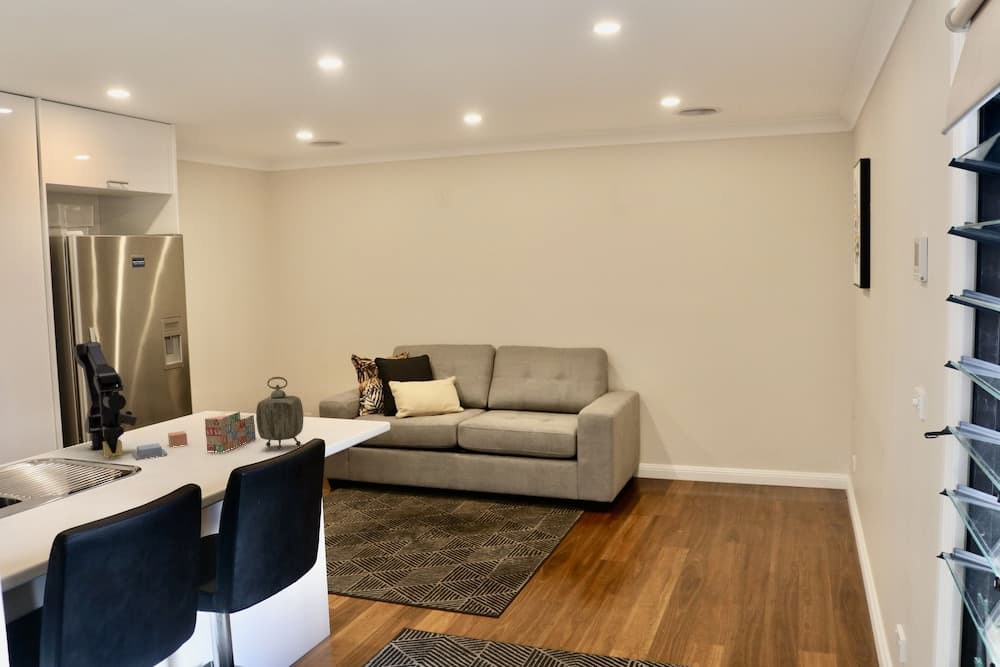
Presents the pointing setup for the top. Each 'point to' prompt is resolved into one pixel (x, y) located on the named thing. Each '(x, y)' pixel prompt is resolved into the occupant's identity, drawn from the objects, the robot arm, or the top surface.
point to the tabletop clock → (279, 416)
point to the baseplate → (148, 451)
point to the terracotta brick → (177, 438)
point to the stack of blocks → (228, 430)
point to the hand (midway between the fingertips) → (112, 451)
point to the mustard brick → (108, 452)
